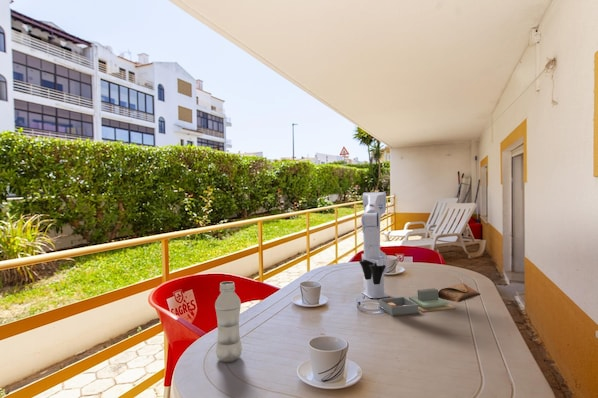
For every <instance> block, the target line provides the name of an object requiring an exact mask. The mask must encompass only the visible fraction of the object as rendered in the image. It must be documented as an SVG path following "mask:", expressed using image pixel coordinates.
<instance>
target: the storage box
mask: <svg viewBox="0 0 598 398" xmlns="http://www.w3.org/2000/svg"><path fill="white" fill-rule="evenodd" d="M379 305H380V306H382V307H383V308H384V309H385V311H384V312H385V313H387V314H388V315H389V316H391V317H397V316H407V315H417V314H419V310H418V304H416V303H414V302H412V301H411V300H410V299H409V298H407V297H405V296H399V297H385V298H380V299H379V298H378V306H379Z"/></svg>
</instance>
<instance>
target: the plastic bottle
mask: <svg viewBox="0 0 598 398" xmlns="http://www.w3.org/2000/svg"><path fill="white" fill-rule="evenodd" d="M235 285H236V284H235V282H234V281H222V282H220V283H219V292H220V293H219V295H218V296H217V299H216V300H215V302H214V308H215V312H216V313H215V314H216V320H217V339H216V340H217V341H216V346H215V355H216V358H217V359H218V360H219V361H220V362H221V363H222V362H223V363H230V362H234V361H237V360H239V359H240V357H241V355H242V350H243V346H242V341H241V335H240V334H241V333H240V315H241V305H242V304H241V303H242V302H241V299H240V297H239V296H238V295H237V293H236V292H235V290H236V287H235Z"/></svg>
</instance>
